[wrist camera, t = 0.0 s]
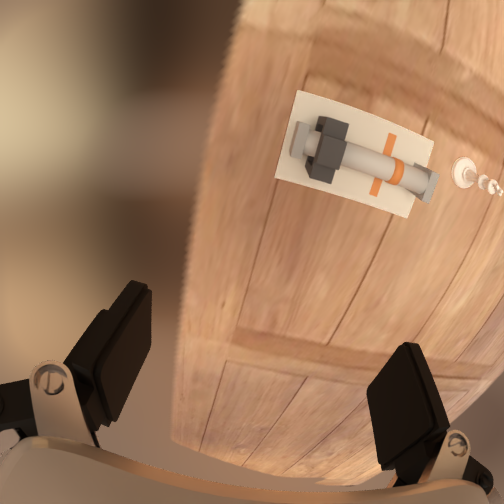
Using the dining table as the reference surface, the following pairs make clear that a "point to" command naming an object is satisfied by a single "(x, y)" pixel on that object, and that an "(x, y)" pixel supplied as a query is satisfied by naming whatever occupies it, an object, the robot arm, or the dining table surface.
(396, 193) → the rail
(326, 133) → the dark grey notched block
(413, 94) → the dining table surface
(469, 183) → the chess piece
